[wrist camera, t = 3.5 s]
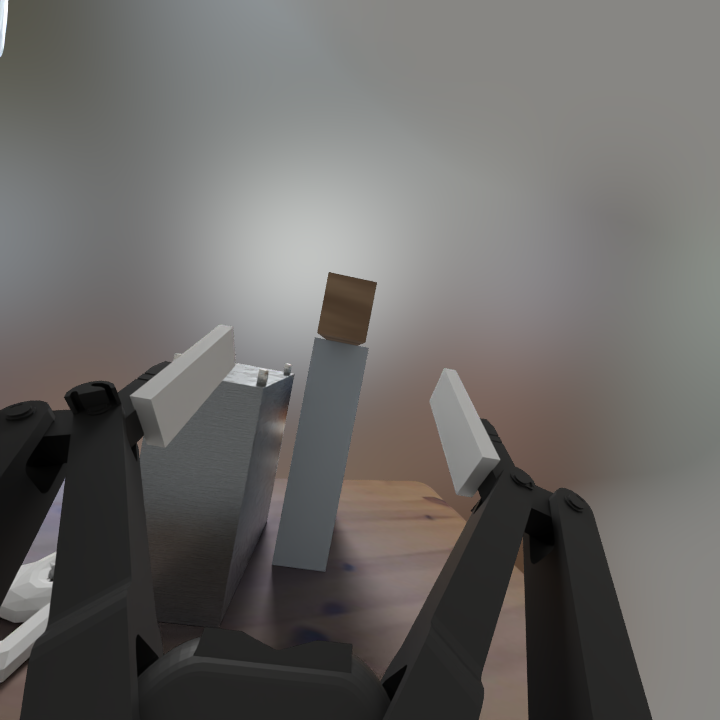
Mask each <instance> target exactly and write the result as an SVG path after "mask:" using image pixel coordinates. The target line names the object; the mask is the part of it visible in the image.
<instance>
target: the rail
mask: <svg viewBox="0 0 720 720" xmlns="http://www.w3.org/2000/svg"><path fill="white" fill-rule="evenodd" d="M376 285H377V282H372V281H368V280H363V279H358V278H354V277H349V276H344V275H339V274H335V273H331V272H329V274H328V279H327V284H326V290H325V295H324V300H323V306H322V311H321V316H320V321H319V326H318V334H320V335H321V336H322V337H324V338H325V339H326V340H330V341H336V342H341V343H346V344H351V345H356V346H358V345H360V344H363V343H365V342H366V336H367V331H368V326H369V321H370V316H371V310H372V305H373V300H374V295H375V290H376Z"/></svg>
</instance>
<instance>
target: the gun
mask: <svg viewBox="0 0 720 720" xmlns="http://www.w3.org/2000/svg"><path fill="white" fill-rule="evenodd" d="M55 560H56V552H54V553H53V554H51V555H49V556H47V557H45V558H43V559H41V560H39V561H37V562H34V563H30V564H26V565H22V566H21V567H20V569H19V571H18V573H17V575H16V577H15V579H14V581H13V583H12V585H11V587H10V589H9V591H8V593H7V595H6V597H5V599H4V601H3V603H2V605H1V607H0V617H1V618H3V619H6V620H9V621H11V622H14V623H18V622H24V623H23V624H22V625H21V626H20V627H18V628H17V629H16V630H15V631H14V632H12V633H11V634H10V635H9V636H7V637H6V638H5V639H4V640H3V641H0V683H1V682H3V681H4V680H5V679H6V678H7V677H9V676H10V675H11V674H12V673H13V672H14V671H15V670H16V669H17V668H18V667H19V666H20V665H21V664H22V663H23V662H25V661H26V660H27V659H28V658H29V657H30V654H31V650H32V647H33V645H34V643H35V641H36V639H38V638H39V637H40V636H41V635H42V634H43V633H44V632H45V629H46V627H47V623H48V617H49V609H50V601H51V593H52V584H53V576H54V568H55Z"/></svg>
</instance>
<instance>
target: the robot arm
mask: <svg viewBox="0 0 720 720" xmlns="http://www.w3.org/2000/svg"><path fill="white" fill-rule="evenodd" d="M7 9H8V0H0V57H1V56H2V53H3V49H4V40H5V34H6V28H7ZM235 365H236V362H235V348H234V332H233V327H231V326H226V325H221V324H220V325H219V326H217V327H216V328H215V329H214V330H212V331H211V332H210V333H209V334H207V335H206V336H205V337H203V338H202V339H201V340H200V341H198V342H197V343H196V344H195V345H193V346H192V347H191V348H190V349H188V350H187V351H186V352H185V353H183V354H182V355H181V356H179V357H178V358H177V359H176V360H174V361H173V362H167V361H165V362H162V363H160V364H158V365H155V366H153V367H152V368H150V369H149V370H148V371H146V372H145V374H142V375H141V376H140V377H138V379H135V380H134V381H133V382H131V383H130V384H129V385H127V386H126V387H125V388H123V389H122V390H121V391H119V392H118V393H117V390H116V388H115V386H114V384H113V383H110V382H107V381H94V382H89V383H84V384H81V385H79V386H76V387H74V388H72V389H71V390H70V391H68V392H67V393H66V395H65V397H64V398H65V400H66V402H67V404H68V406H69V407H70V409H71V410H56V411H52V410H51V408H50V406H49V405H48V404H47V403H46V402H43V401H27V402H21V403H17V404H14V405H11V406H8V407H6V408H4V409H2V410H0V607H1V605H2V603H3V601H4V599H5V597H6V595H7V593H8V591H9V589H10V587H11V585H12V583H13V581H14V579H15V577H16V575H17V573H18V571H19V569H20V567H21V565H22V563H23V561H24V559H25V557H26V555H27V553H28V551H29V549H30V547H31V545H32V543H33V541H34V539H35V537H36V535H37V533H38V531H39V529H40V527H41V525H42V523H43V521H44V519H45V517H46V515H47V513H48V511H49V509H50V507H51V505H52V503H53V501H54V499H55V497H56V495H57V493H58V491H59V489H60V487H61V485H62V483H63V481H64V479H65V486H64V494H63V502H62V510H61V519H60V527H59V535H58V543H57V551H56V560H55V568H54V576H53V584H52V593H51V601H50V609H49V617H48V623H47V627H46V629H45V632H44V633H43V634H42V635H41V636H40V637H39V638H38V639H36V641H35V643H34V645H33V647H32V650H31V654H30V658H29V662H28V669H27V675H26V682H25V689H24V695H23V702H22V709H21V715H20V720H479V716H480V713H481V709H482V704H483V699H484V687H483V685H482V682H481V675H482V671H483V667H484V664H485V661H486V657H487V654H488V651H489V647H490V644H491V641H492V637H493V634H494V631H495V627H496V624H497V621H498V617H499V614H500V611H501V607H502V604H503V601H504V597H505V594H506V591H507V587H508V584H509V581H510V577H511V574H512V571H513V567H514V563H515V560H516V557H517V554H518V551H519V547H520V544H521V540H522V537H523V551H524V584H525V617H526V650H527V682H528V715H529V720H652V717H651V713H650V710H649V706H648V703H647V699H646V696H645V692H644V689H643V685H642V682H641V678H640V675H639V672H638V668H637V664H636V661H635V658H634V654H633V650H632V647H631V644H630V640H629V637H628V633H627V630H626V626H625V623H624V619H623V616H622V612H621V609H620V606H619V602H618V598H617V595H616V591H615V588H614V584H613V581H612V577H611V574H610V571H609V567H608V563H607V560H606V557H605V553H604V550H603V546H602V542H601V539H600V535H599V532H598V528H597V525H596V522H595V518H594V515H593V512H592V510H591V508H590V506H589V505H588V504H587V503H586V501H585V500H584V499H582V498H581V497H580V496H579V495H578V494H576V493H574V492H573V491H571V490H568V489H566V488H559V489H558V490H556V491H555V492H554V493H552V492H549V491H547V490H545V489H542V488H540V487H538V486H536V485H535V483H534V481H533V480H532V479H531V477H530V476H529V475H528V474H527V473H525V472H524V471H523V470H521V469H519V468H517V467H515V466H514V463H513V461H512V460H511V458H510V456H509V454H508V452H507V450H506V449H505V447H504V445H503V444H502V441H501V440H500V437H498V434H497V432H496V430H495V428H494V427H493V426H492V425H491V424H490V423H489V422H488V421H487V420H486V419H481V418H479V416H478V414H477V412H476V410H475V408H474V406H473V404H472V402H471V400H470V398H469V396H468V394H467V392H466V390H465V388H464V386H463V384H462V382H461V380H460V378H459V376H458V374H457V372H456V371H455V370H451V369H446V368H445V369H444V370H443V372H442V374H441V377H440V379H439V381H438V383H437V385H436V388H435V390H434V392H433V395H432V397H431V399H430V404H431V408H432V411H433V415H434V418H435V422H436V425H437V429H438V432H439V436H440V439H441V443H442V446H443V450H444V453H445V457H446V460H447V464H448V467H449V471H450V474H451V477H452V480H453V485H454V488H455V492H456V494H457V495H461V496H468V497H473V495H474V494H475V493H476V491H477V490H478V491H479V494H480V496H481V499H480V500H479V501H478V502H477V504H476V505H475V506H474V507H473V509H472V510H471V511H472V514H471V516H470V518H469V520H468V522H467V523H466V525H465V527H464V529H463V531H462V533H461V535H460V537H459V539H458V541H457V542H456V544H455V546H454V548H453V550H452V552H451V554H450V556H449V558H448V559H447V561H446V563H445V565H444V567H443V569H442V571H441V573H440V575H439V577H438V578H437V580H436V582H435V584H434V586H433V588H432V590H431V592H430V594H429V596H428V597H427V599H426V601H425V603H424V605H423V607H422V609H421V611H420V613H419V615H418V616H417V618H416V620H415V622H414V624H413V626H412V628H411V630H410V632H409V633H408V635H407V637H406V639H405V641H404V643H403V645H402V646H401V648H400V650H399V651H398V653H397V654H396V656H395V657H394V659H393V660H392V662H391V663H390V665H389V667H388V669H387V670H386V672H385V674H384V676H383V678H382V680H381V681H379V679H378V678H377V677H376V675H375V674H374V673H373V671H372V670H371V669H370V668H369V667H368V666H367V665H366V664H365V663H364V662H363V661H362V660H360V659H359V658H358V657H356V656H355V655H353V654H352V644H345V643H336V642H328V641H319V640H316V641H313V642H309V643H305V644H301V645H297V646H293V647H290V648H286V649H282V650H275V649H273V648H271V647H269V646H267V645H265V644H264V643H262V642H260V641H258V640H256V639H255V638H253V637H251V636H249V635H248V634H246V633H244V632H242V631H234V630H226V629H217V628H209V627H205V628H204V631H203V633H202V636H201V637H199V638H195V639H192V640H190V641H187V642H185V643H183V644H181V645H179V646H177V647H175V648H174V649H172V650H170V651H169V652H167V653H166V654H165V655H164V654H163V646H162V639H161V634H160V630H159V627H158V623H157V618H156V611H155V602H154V592H153V583H152V573H151V564H150V554H149V544H148V535H147V525H146V516H145V506H144V496H143V487H142V477H141V468H140V458H139V449H138V445H137V442H138V441H139V440H140V439H141V438H142V437H143V436H144V438H145V440H146V443H147V445H152V446H158V447H164V448H166V446H167V445H168V444H169V443H170V442H171V441H172V439H173V438H174V437H175V436H176V435H177V433H178V432H179V431H180V430H181V429H182V428H183V426H184V425H185V424H186V423H187V422H188V421H189V419H190V418H191V417H192V416H193V415H194V413H195V412H196V411H197V410H198V409H199V408H200V406H201V405H202V404H203V403H204V402H205V401H206V399H207V398H208V397H209V396H210V395H211V393H212V392H213V391H214V390H215V389H216V388H217V386H218V385H219V384H220V383H221V382H222V381H223V379H224V378H225V377H226V376H227V375H228V373H229V372H230V371H231V370H232V369H233V368H234V366H235Z"/></svg>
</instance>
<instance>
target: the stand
mask: <svg viewBox="0 0 720 720" xmlns="http://www.w3.org/2000/svg"><path fill="white" fill-rule="evenodd" d="M367 354H368V348H366V347H361V346H356V345H351V344H346V343H341V342H336V341H330V340H325V339H320V338H315V340H314V346H313V351H312V356H311V361H310V367H309V372H308V377H307V383H306V388H305V393H304V398H303V403H302V409H301V414H300V419H299V425H298V430H297V435H296V441H295V446H294V451H293V457H292V461H291V467H290V472H289V477H288V483H287V488H286V493H285V498H284V504H283V509H282V514H281V519H280V525H279V530H278V535H277V541H276V546H275V551H274V556H273V562H272V565H278V566H285V567H293V568H301V569H308V570H316V571H324V572H325V570H326V565H327V560H328V555H329V550H330V545H331V540H332V534H333V529H334V524H335V519H336V514H337V509H338V503H339V498H340V493H341V488H342V483H343V477H344V472H345V467H346V462H347V457H348V451H349V446H350V442H351V436H352V431H353V426H354V421H355V416H356V411H357V405H358V400H359V395H360V390H361V385H362V380H363V374H364V369H365V364H366V359H367Z"/></svg>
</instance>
